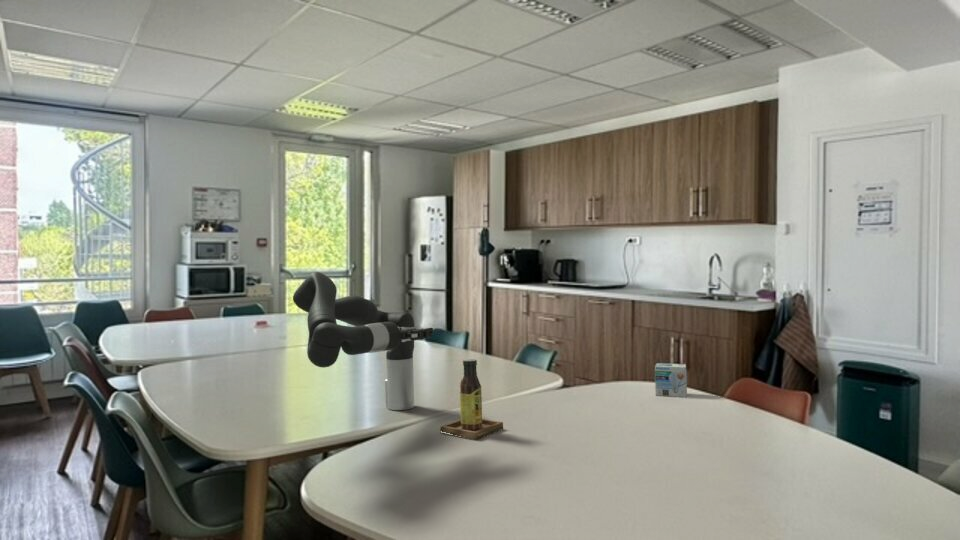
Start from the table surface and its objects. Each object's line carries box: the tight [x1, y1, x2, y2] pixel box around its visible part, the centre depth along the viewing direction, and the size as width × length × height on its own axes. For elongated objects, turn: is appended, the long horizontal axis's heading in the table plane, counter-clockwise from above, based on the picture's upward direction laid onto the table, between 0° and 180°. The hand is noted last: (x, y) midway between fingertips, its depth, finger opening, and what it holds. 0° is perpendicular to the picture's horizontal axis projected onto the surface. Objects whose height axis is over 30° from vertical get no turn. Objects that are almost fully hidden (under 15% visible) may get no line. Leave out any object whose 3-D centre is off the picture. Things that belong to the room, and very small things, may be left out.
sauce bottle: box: [459, 359, 483, 431], centre depth 161 cm, size 6×6×20 cm
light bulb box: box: [654, 362, 688, 398], centre depth 200 cm, size 11×7×11 cm, turn 68°
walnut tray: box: [439, 418, 504, 441], centre depth 161 cm, size 13×13×2 cm
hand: (421, 331), depth 157 cm, fingers open, 8 cm apart
